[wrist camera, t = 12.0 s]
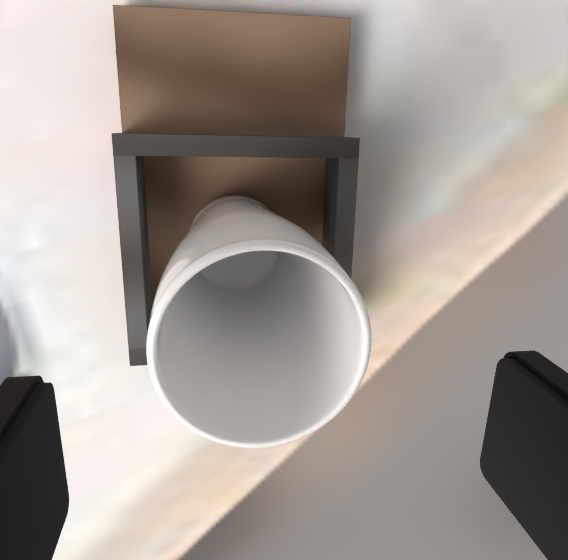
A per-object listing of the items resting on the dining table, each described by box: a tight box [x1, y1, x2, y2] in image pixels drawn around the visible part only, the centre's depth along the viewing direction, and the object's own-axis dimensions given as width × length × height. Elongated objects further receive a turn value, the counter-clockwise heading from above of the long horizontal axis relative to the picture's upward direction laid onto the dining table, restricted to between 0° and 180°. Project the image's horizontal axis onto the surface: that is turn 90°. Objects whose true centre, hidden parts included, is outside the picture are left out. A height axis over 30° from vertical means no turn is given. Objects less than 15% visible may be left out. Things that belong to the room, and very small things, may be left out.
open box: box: [112, 5, 360, 366], centre depth 27 cm, size 18×12×4 cm, turn 179°
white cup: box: [146, 195, 371, 448], centre depth 21 cm, size 7×7×15 cm
